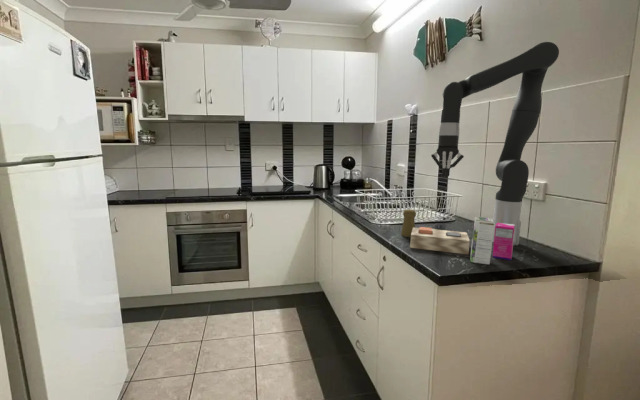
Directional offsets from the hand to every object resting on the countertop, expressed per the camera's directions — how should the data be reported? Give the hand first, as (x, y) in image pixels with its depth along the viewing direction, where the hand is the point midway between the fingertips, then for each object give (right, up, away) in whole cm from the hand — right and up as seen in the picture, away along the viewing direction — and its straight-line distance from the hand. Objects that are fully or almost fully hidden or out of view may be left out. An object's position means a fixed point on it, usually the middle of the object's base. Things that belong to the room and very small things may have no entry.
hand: (445, 177), depth 136 cm
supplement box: (+12, -29, -21) cm, 38 cm away
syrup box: (+2, -30, -26) cm, 40 cm away
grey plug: (-2, -27, -12) cm, 30 cm away
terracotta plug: (-11, -25, -9) cm, 29 cm away
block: (-7, -27, -10) cm, 30 cm away
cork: (-14, -25, +5) cm, 29 cm away
